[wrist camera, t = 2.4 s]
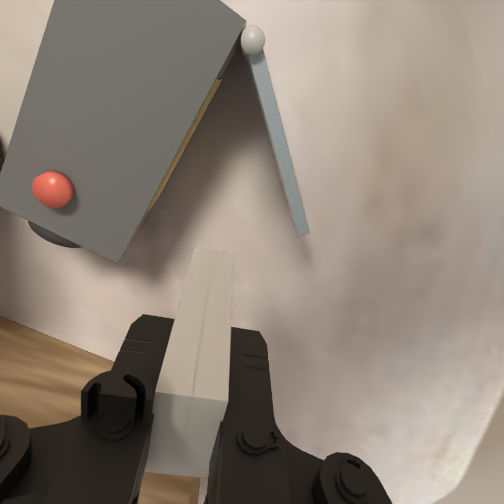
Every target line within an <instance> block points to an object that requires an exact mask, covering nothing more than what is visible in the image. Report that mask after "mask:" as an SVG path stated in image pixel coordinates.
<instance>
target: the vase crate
mask: <svg viewBox="0 0 504 504" xmlns="http://www.w3.org/2000/svg"><path fill="white" fill-rule="evenodd" d="M113 364H114V362H112V361H110V360H107V359H105V358H102V357H100V356H97V355H95V354H92V353H90V352H87V351H85V350H82V349H80V348H77V347H75V346H72V345H70V344H67V343H65V342H62V341H60V340H57V339H55V338H52V337H50V336H47V335H45V334H42V333H40V332H37V331H35V330H32V329H30V328H27V327H25V326H22V325H20V324H17V323H15V322H12V321H10V320H7V319H5V318H2V317H0V415H9V416H15V417H18V418H19V419H21V420H22V421H24V422H25V423H27V426H28V428H35V427H41V426H46V425H52V424H58V423H62V422H65V421H69V420H71V419H73V418H76V417H78V416H80V415H81V390H82V389H83V388H84V386H85V385H86V384H87V383H88V381H89V380H91V379H92V378H94V377H95V376H97V375H99V374H100V373H103V372H106V371H110V370H111V369H112V367H113ZM199 485H200V477H191V476H181V475H171V474H161V473H152V472H144V475H143V479H142V483H141V487H140V494H139V501H138V504H198V494H199Z"/></svg>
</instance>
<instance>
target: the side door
mask: <svg viewBox="0 0 504 504" xmlns="http://www.w3.org/2000/svg"><path fill="white" fill-rule="evenodd" d="M264 44H265V35H264V33H263V31H262V30H261V29H260V28H259V27H258V26H254V25H252V26H248V27H247V28H245V29H244V31H243V32H242V35H241V51H242V53H243V55H244V56H246V57H247V60H248V64H249V67H250V71H251V74H252V78H253V82H254V85H255V89H256V92H257V96H258V100H259V103H260V107H261V111H262V114H263V118H264V121H265V125H266V129H267V132H268V136H269V139H270V143H271V147H272V150H273V154H274V157H275V161H276V165H277V168H278V172H279V176H280V179H281V183H282V186H283V190H284V194H285V197H286V201H287V204H288V208H289V211H290V214H291V217H292V220H293V223H294V226H295V229H296V232H297V235H298V236H301V235H305V234H308V233H310V231H309V227H308V224H307V220H306V216H305V212H304V208H303V204H302V200H301V196H300V192H299V188H298V184H297V180H296V176H295V173H294V169H293V165H292V161H291V157H290V153H289V149H288V145H287V141H286V137H285V133H284V129H283V125H282V122H281V118H280V114H279V110H278V106H277V102H276V98H275V94H274V90H273V86H272V82H271V78H270V74H269V71H268V67H267V63H266V59H265V55H264V51H263V47H264Z"/></svg>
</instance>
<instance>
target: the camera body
mask: <svg viewBox="0 0 504 504" xmlns="http://www.w3.org/2000/svg"><path fill="white" fill-rule="evenodd" d="M245 28H246V20H245V19H243V18H242V17H241V16H240V15H238V14H237V13H236V12H234V11H233V10H232V9H230V8H229V7H228V6H227V5H225V4H224V3H223V2H221V1H220V0H54V3H53V6H52V10H51V13H50V16H49V19H48V22H47V26H46V29H45V32H44V35H43V38H42V42H41V45H40V48H39V51H38V55H37V58H36V61H35V64H34V67H33V71H32V74H31V77H30V80H29V83H28V87H27V90H26V93H25V96H24V99H23V103H22V106H21V109H20V112H19V115H18V119H17V122H16V125H15V128H14V131H13V135H12V138H11V141H10V144H9V147H8V151H7V154H6V157H5V160H4V163H3V167H2V170H1V173H0V207H2V208H4V209H6V210H8V211H10V212H12V213H14V214H16V215H18V216H20V217H22V218H24V219H26V220H28V222H29V225H30V227H31V228H32V230H33V231H34V232H35V233H36V234H38V235H39V236H40V237H42V238H43V239H45V240H47V241H49V242H51V243H54V244H57V245H60V246H64V247H70V248H82V247H84V248H86V249H88V250H90V251H92V252H94V253H97V254H99V255H101V256H103V257H105V258H107V259H109V260H111V261H113V262H115V263H117V264H118V262H119V261H120V259H121V258H122V256H123V255H124V253H125V251H126V250H127V248H128V247H129V245H130V244H131V242H132V241H133V239H134V238H135V236H136V235H137V233H138V231H139V230H140V228H141V227H142V225H143V223H144V221H145V219H146V217H147V215H148V214H149V212H150V210H151V208H152V206H153V205H154V203H155V202H156V200H157V199H158V197H159V196H160V194H161V192H162V191H163V189H164V187H165V185H166V183H167V181H168V179H169V178H170V176H171V174H172V172H173V170H174V168H175V166H176V165H177V163H178V161H179V159H180V157H181V155H182V153H183V152H184V150H185V148H186V146H187V144H188V142H189V140H190V139H191V137H192V135H193V133H194V131H195V129H196V127H197V126H198V124H199V122H200V120H201V118H202V116H203V114H204V113H205V111H206V109H207V107H208V105H209V103H210V101H211V100H212V98H213V96H214V94H215V92H216V90H217V88H218V87H219V85H220V83H221V81H222V78H221V77H222V76H223V74H224V72H225V70H226V68H227V66H228V64H229V63H230V61H231V59H232V57H233V55H234V53H235V51H236V49H237V48H238V46H239V44H240V42H241V35H242V32H243V31H244V29H245Z"/></svg>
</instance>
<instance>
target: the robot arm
mask: <svg viewBox="0 0 504 504" xmlns="http://www.w3.org/2000/svg"><path fill="white" fill-rule="evenodd" d="M233 263H234V255H232V254H227V253H221V252H216V251H210V250H205V249H200V248H194V251H193V254H192V258H191V262H190V265H189V269H188V273H187V276H186V280H185V284H184V287H183V291H182V295H181V298H180V302H179V306H178V309H177V313H176V317H175V319H171V318H164V317H158V316H152V315H145V314H143V315H142V316H141V317H139V318H138V319H137V320H136V321H135V322H133V323H132V324H131V326H130V328H129V330H128V333H127V335H126V337H125V340H124V342H123V344H122V346H121V349H120V352H119V353H118V355H117V358H116V360H115V362H114V364H113V367H112V369H111V370H110V371H106V372H103V373H100V374H99V375H97V376H95V377H94V378H92V379H91V380H89V381H88V383H87V384H86V385H85V386H84V388H83V389H82V390H81V415H80V416H78V417H76V418H73V419H71V420H69V421H65V422H62V423H58V424H52V425H46V426H41V427H35V428H28V426H27V423H25V422H24V421H22V420H21V419H19V418H18V417H15V416H9V415H0V504H138V501H139V494H140V487H141V483H142V479H143V475H144V472H152V473H161V474H171V475H181V476H191V477H201V478H207V476H208V488H207V494H206V497H205V501H204V504H392V502H391V500H390V498H389V497H388V495H387V493H386V491H385V489H384V487H383V486H382V484H381V482H380V480H379V479H378V477H377V476H376V474H375V473H374V472H373V470H372V469H371V468H370V467H369V466H368V465H367V464H366V463H365V462H363V461H362V460H361V459H360V458H358V457H355V456H353V455H351V454H349V453H340V452H336V453H334V454H331V455H329V456H327V457H326V459H325V460H321V459H319V458H317V457H315V456H313V455H310V454H308V453H306V452H304V451H302V450H300V449H298V448H296V447H295V446H293V445H292V444H291V443H290V442H288V441H287V440H286V439H285V438H284V436H283V435H282V434H281V432H280V430H279V429H278V427H277V425H276V423H275V418H274V412H273V402H272V392H271V381H270V372H269V361H268V351H267V343H266V342H265V340H264V338H263V337H262V335H261V334H260V332H259V331H254V330H247V329H241V328H235V327H231V315H232V289H233ZM208 472H209V475H208Z"/></svg>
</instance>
